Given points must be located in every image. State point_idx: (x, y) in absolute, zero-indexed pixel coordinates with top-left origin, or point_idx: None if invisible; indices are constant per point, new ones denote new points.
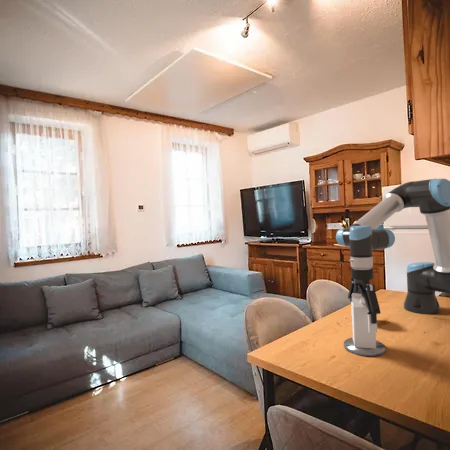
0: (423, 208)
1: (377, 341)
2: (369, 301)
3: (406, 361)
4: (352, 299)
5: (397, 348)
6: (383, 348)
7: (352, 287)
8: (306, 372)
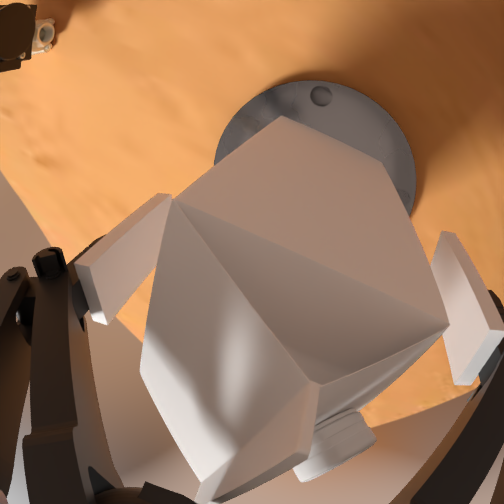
0: None
1: (289, 92)
2: (499, 493)
3: (487, 93)
4: (165, 415)
5: (357, 23)
6: (383, 118)
7: (9, 433)
8: (400, 409)
